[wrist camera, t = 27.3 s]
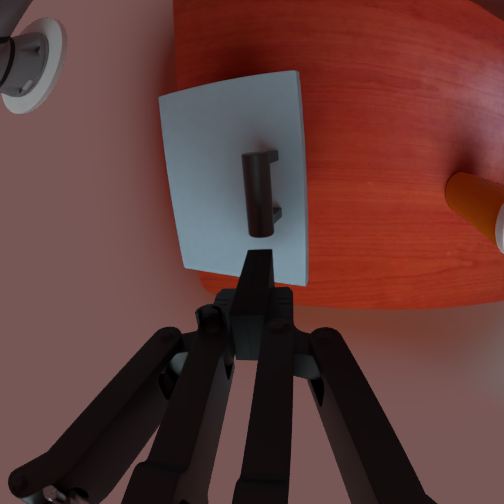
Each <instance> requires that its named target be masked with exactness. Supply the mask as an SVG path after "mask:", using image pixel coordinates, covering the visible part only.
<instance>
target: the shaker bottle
mask: <svg viewBox="0 0 504 504" xmlns="http://www.w3.org/2000/svg"><path fill="white" fill-rule="evenodd" d="M445 197H446V201H447V204H448V205H449V207H450V208H451V209H452V210H453V211H455V212H456V213H457V214H459V215H460V216H461V217H463V218H464V219H465V220H466V221H468V222H469V223H470V224H471V225H473V226H474V227H475V228H476V229H478V230H479V231H480V232H481V233H482V234H484V235H485V236H486V237H487V238H488V239H489V240H491V241H492V242H493V243H494V244H495V245H496V246H497V247H498V249H499V250H500V252H502V253H503V254H504V185H503V184H500V183H497V182H494V181H491V180H488V179H485V178H481V177H478V176H475V175H472V174H468V173H465V172H458V173H456V174H454V175H453V176H452V177H451V178H450V179H449V181H448V183H447V186H446V190H445Z"/></svg>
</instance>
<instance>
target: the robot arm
mask: <svg viewBox="0 0 504 504" xmlns="http://www.w3.org/2000/svg"><path fill="white" fill-rule="evenodd" d="M32 1H33V0H0V93H3V94H5V95H8V96H11V97H23V96H26V95H27V94H29V93H30V92H31V91H32V90H33V89H34V88H35V86H36V85H37V84H38V82H39V80H40V79H41V77H42V75H43V72H44V70H45V67H46V64H47V60H48V55H49V43H48V39H47V37H46V36H45V35H44V34H42V33H38V32H31V33H26V34H23V35H19V36H15V37H10V36H11V34H12V32H13V30H14V29H15V27H16V26H17V24H18V22H19V21H20V19H21V18H22V16H23V14H24V13H25V11H26V10H27V8H28V7H29V5H30V4H31V2H32ZM195 314H196V319H197V323H198V329H197V331H194V332H190V333H184V334H181V332H180V330H179V329H178V328H175V327H164V328H162V329H159V330H158V331H157V332H156V333H155V334H154V335H153V336H152V337H151V338H150V339H149V340H148V341H147V342H146V343H145V344H144V345H143V347H142V348H141V349H140V350H139V351H138V352H137V353H136V354H135V355H134V356H133V357H132V358H131V359H130V361H129V362H128V363H127V364H126V365H125V366H124V367H123V368H122V369H121V370H120V371H119V373H118V374H117V375H116V376H115V377H114V378H113V379H112V380H111V381H110V382H109V383H108V385H107V386H106V387H105V388H104V389H103V390H102V391H101V392H100V394H99V395H98V396H97V397H96V398H95V399H94V400H93V401H92V402H91V403H90V404H89V406H88V407H87V408H86V409H85V410H84V411H83V412H82V413H81V414H80V416H79V417H78V418H77V419H76V420H75V421H74V423H72V425H71V426H70V427H69V428H68V429H67V430H66V431H65V432H64V434H63V435H62V436H61V437H60V438H59V439H58V440H57V441H56V443H55V444H54V445H53V446H52V447H51V448H50V449H49V451H48V452H46V453H44V454H42V455H41V456H39V457H37V458H35V459H34V460H32V461H30V462H28V463H26V464H24V465H23V466H21V467H19V468H17V469H15V470H14V471H13V472H11V474H10V476H9V479H8V485H9V489H10V491H11V493H12V494H13V495H14V496H16V497H17V498H19V499H20V500H22V501H23V502H25V503H27V504H99V503H100V502H101V501H103V499H105V498H106V497H107V496H108V495H109V493H110V492H111V491H112V490H113V489H114V487H115V486H116V484H117V483H118V482H119V480H120V479H121V478H122V476H123V475H124V474H125V472H126V471H127V469H128V468H129V467H130V465H131V464H132V463H133V461H134V460H135V459H136V457H137V456H138V454H139V453H140V452H141V450H142V449H143V447H144V446H145V445H146V443H147V442H148V440H149V439H150V437H151V436H152V435H153V433H154V432H155V431H156V429H157V428H158V426H159V425H160V427H159V429H158V432H157V435H156V437H155V440H154V443H153V445H152V448H151V451H150V453H149V456H148V458H147V460H146V461H145V462H141V463H139V464H137V466H136V467H135V468H134V470H133V473H132V475H131V478H130V481H129V483H128V486H127V489H126V492H125V494H124V497H123V499H122V502H121V504H208V488H209V484H210V479H211V474H212V470H213V466H214V461H215V456H216V452H217V448H218V443H219V438H220V434H221V429H222V424H223V420H224V415H225V411H226V406H227V402H228V396H229V392H230V388H231V383H232V378H233V373H234V369H235V367H234V355H236V360H258V364H257V372H256V379H255V385H254V393H253V400H252V406H251V413H250V420H249V426H248V432H247V439H246V445H245V451H244V457H243V464H242V470H241V475H240V478H239V479H238V481H237V483H236V486H235V490H234V495H233V500H232V504H288V493H289V477H290V459H291V438H292V408H293V376H297V377H301V378H305V379H307V380H308V384H309V387H310V389H311V392H312V395H313V398H314V400H315V403H316V406H317V409H318V412H319V414H320V417H321V420H322V423H323V426H324V428H325V431H326V434H327V436H328V439H329V442H330V445H331V448H332V450H333V453H334V456H335V459H336V462H337V464H338V467H339V470H340V473H341V476H342V479H343V481H344V484H345V487H346V490H347V492H348V496H349V499H350V501H351V504H437V503H436V502H435V501H434V500H432V499H431V498H430V497H429V496H428V495H426V494H425V492H424V490H423V487H422V485H421V483H420V481H419V480H418V477H417V475H416V473H415V471H414V469H413V467H412V465H411V463H410V461H409V459H408V457H407V455H406V453H405V451H404V449H403V447H402V445H401V443H400V441H399V440H398V438H397V436H396V434H395V432H394V430H393V428H392V426H391V424H390V422H389V420H388V419H387V417H386V415H385V413H384V411H383V409H382V407H381V406H380V404H379V402H378V400H377V398H376V396H375V394H374V393H373V391H372V389H371V387H370V385H369V384H368V382H367V380H366V378H365V376H364V375H363V373H362V371H361V369H360V367H359V365H358V364H357V362H356V360H355V358H354V357H353V355H352V353H351V351H350V350H349V348H348V346H347V344H346V343H345V341H344V339H343V337H342V336H341V334H340V333H339V332H338V331H337V330H335V329H333V328H328V327H324V328H318V329H316V330H314V331H313V332H312V333H311V334H309V333H305V332H302V331H300V330H298V329H297V328H296V327H295V326H294V322H293V292H292V290H291V289H290V288H289V287H275V285H274V267H273V250H272V249H253V250H248V251H247V255H246V258H245V261H244V265H243V268H242V271H241V275H240V278H239V282H238V285H237V288H236V289H222V290H221V291H220V292H219V293H218V294H217V296H216V298H215V301H214V304H207V305H204V306H202V307H200V308H199V309H197V310H196V312H195Z"/></svg>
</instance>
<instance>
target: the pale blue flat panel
mask: <svg viewBox="0 0 504 504" xmlns="http://www.w3.org/2000/svg"><path fill="white" fill-rule="evenodd" d="M159 107H160V116H161V126H162V134H163V142H164V151H165V157H166V165H167V172H168V179H169V185H170V192H171V198H172V204H173V210H174V216H175V221H176V227H177V233H178V238H179V243H180V248H181V253H182V258H183V263H184V267H185V268H190V269H195V270H201V271H207V272H214V273H220V274H226V275H232V276H239V277H240V275H241V271H242V268H243V265H244V261H245V258H246V255H247V251H248V250H253V249H272V250H273V267H274V282H279V283H286V284H293V285H300V286H306V284H307V282H308V202H307V175H306V154H305V137H304V122H303V109H302V97H301V86H300V76H299V72H298V71H296V70H292V71H282V72H273V73H266V74H258V75H252V76H246V77H240V78H234V79H229V80H224V81H219V82H214V83H209V84H205V85H201V86H197V87H193V88H189V89H185V90H181V91H177V92H174V93H170V94H167V95H163V96H160V97H159Z"/></svg>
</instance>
